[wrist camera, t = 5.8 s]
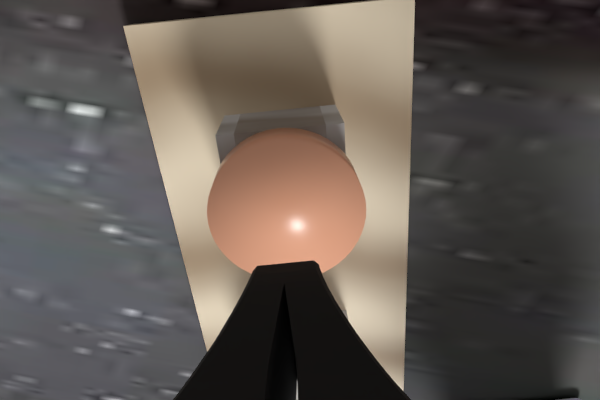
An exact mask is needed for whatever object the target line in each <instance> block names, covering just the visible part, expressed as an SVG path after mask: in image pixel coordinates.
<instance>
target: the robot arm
mask: <svg viewBox="0 0 600 400" xmlns="http://www.w3.org/2000/svg"><path fill="white" fill-rule="evenodd" d="M297 382H298V400H411V399H410V398H409V397H408V396H407V395H406V394H405V393H404V392H403V390H402V389H401V388H400V387H399V386H398V385H397V384H396V383H395V381H394V380H393V379H392V378H391V377H390V375H389V374H388V373H387V372H386V371H385V369H384V368H383V367H382V366H381V365H380V363H379V362H378V361H377V360H376V358H375V357H374V356H373V354H372V353H371V352H370V350H369V349H368V348H367V346H366V345H365V344H364V342H363V341H362V340H361V338H360V337H359V335H358V334H357V333H356V331H355V330H354V328H353V327H352V325H351V324H350V322H349V321H348V319H347V318H346V316H345V315H344V313H343V312H342V310H341V309H340V307H339V305H338V304H337V302H336V300H335V299H334V297H333V295H332V293H331V291H330V289H329V288H328V286H327V284H326V282H325V279H324V277H323V275H322V272H321V270H320V267H319V264H318V263H316V262H315V261H314V260H312V261H301V262H291V263H281V264H271V265H260V266H257V267H256V268H255V269H254V270H253V271H252V274H251V276H250V278H249V280H248V283H247V285H246V287H245V289H244V291H243V293H242V295H241V297H240V298H239V300H238V302H237V304H236V306H235V308H234V309H233V311H232V313H231V315H230V316H229V318H228V320H227V321H226V323H225V325H224V326H223V328H222V330H221V331H220V333H219V335H218V336H217V338H216V340H215V341H214V343H213V344H212V346H211V347H210V349H209V350H208V352H207V353H206V355H205V356H204V358H203V359H202V360H201V362H200V363H199V365H198V366H197V368H196V369H195V371H194V372H193V374H192V375H191V377H190V378H189V379H188V381H187V382H186V383H185V385H184V386H183V387H182V389H181V390H180V391H179V393H178V394H177V395H176V397H175V398H174V399H173V400H296V391H297ZM557 400H581V399H579V398H568V399H557Z"/></svg>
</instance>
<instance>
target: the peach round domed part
mask: <svg viewBox="0 0 600 400" xmlns="http://www.w3.org/2000/svg"><path fill="white" fill-rule="evenodd" d="M207 219H208V225H209V228H210V232H211V234H212V237H213V239H214V241H215V243H216V244H217V246H218V247H219V249H220V250H221V251H222V252H223V254H224V255H225V256H226V257H227V258H228V259H229V260H230V261H231V262H233V263H234V264H235V265H237V266H238V267H240V268H241V269H243V270H245V271H247V272H249V273H251V274H252V271H253V270H254V269H255V268H256V267H257V266H260V265H271V264H281V263H291V262H301V261H312V260H314V261H315V262H316V263H318V264H319V267H320V270H321V272H322V273H323V272H325V271H327V270H329V269H331V268H333V267H334V266H336V265H337V264H339V263H340V262H341V261H342V260H343V259H344V258H345V257H346V256H347V255H348V254H349V253H350V252H351V251H352V250H353V248H354V247H355V245H356V244H357V242H358V240H359V238H360V236H361V234H362V231H363V228H364V224H365V219H366V200H365V196H364V192H363V189H362V186H361V184H360V181H359V179H358V177H357V174H356V172H355V169H354V167H353V165H352V163H351V162H350V160H349V158H348V157H347V156H346V155H345V153H344V152H343V151H342V150H341V149H340V148H339V147H338V146H337V145H335V144H334V143H333V142H331V141H330V140H328V139H327V138H325V137H323V136H321V135H319V134H316V133H314V132H311V131H308V130H303V129H298V128H276V129H270V130H266V131H262V132H259V133H257V134H254V135H252V136H250V137H248V138H246V139H245V140H243V141H242V142H240V143H239V144H238V145H237V146H235V147H234V148H233V149H232V150H231V151H230V152H229V153H228V154H227V156H226V157H225V158H224V160H223V161H222V163H221V165H220V167H219V169H218V171H217V173H216V176H215V179H214V182H213V185H212V187H211V190H210V194H209V197H208V203H207Z"/></svg>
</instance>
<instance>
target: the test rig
mask: <svg viewBox="0 0 600 400" xmlns="http://www.w3.org/2000/svg"><path fill="white" fill-rule="evenodd" d="M414 17H415V0H369V1H359V2H349V3H339V4H329V5H319V6H309V7H299V8H289V9H279V10H270V11H260V12H250V13H240V14H230V15H220V16H210V17H200V18H190V19H180V20H170V21H160V22H150V23H140V24H131V25H127V26H123V27H124V31H125V35H126V39H127V43H128V46H129V50H130V54H131V58H132V62H133V66H134V70H135V74H136V77H137V81H138V85H139V89H140V93H141V97H142V101H143V105H144V108H145V112H146V116H147V120H148V124H149V128H150V132H151V136H152V139H153V143H154V147H155V151H156V155H157V159H158V163H159V167H160V170H161V174H162V178H163V182H164V186H165V190H166V194H167V197H168V201H169V205H170V209H171V213H172V217H173V221H174V225H175V228H176V232H177V236H178V240H179V244H180V248H181V252H182V256H183V259H184V263H185V267H186V271H187V275H188V279H189V283H190V287H191V290H192V294H193V298H194V302H195V306H196V310H197V314H198V318H199V321H200V325H201V329H202V333H203V337H204V341H205V345H206V349H207V352H208V350H209V349H210V347H211V346H212V344H213V343H214V341H215V340H216V338H217V336H218V335H219V333H220V331H221V330H222V328H223V326H224V325H225V323H226V321H227V320H228V318H229V316H230V315H231V313H232V311H233V309H234V308H235V306H236V304H237V302H238V300H239V298H240V297H241V295H242V293H243V291H244V289H245V287H246V285H247V283H248V280H249V278H250V276H251V273H249V272H247V271H245V270H243V269H241V268H240V267H238V266H237V265H235V264H234V263H233V262H231V261H230V260H229V259H228V258H227V257H226V256H225V255H224V254H223V252H222V251H221V250H220V249H219V247H218V246H217V244H216V243H215V241H214V239H213V237H212V234H211V232H210V228H209V225H208V219H207V203H208V197H209V194H210V190H211V187H212V185H213V182H214V179H215V176H216V173H217V171H218V169H219V167H220V165H221V163H222V161H223V160H224V158H225V157H226V156H227V154H228V153H229V152H230V151H231V150H232V149H233V148H234V147H235V146H237V145H238V144H239V143H240V142H242V141H243V140H245V139H246V138H248V137H250V136H252V135H254V134H257V133H259V132H262V131H266V130H270V129H276V128H298V129H303V130H308V131H311V132H314V133H316V134H319V135H321V136H323V137H325V138H327V139H328V140H330V141H331V142H333V143H334V144H335V145H337V146H338V147H339V148H340V149H341V150H342V151H343V152H344V153H345V155H346V156H347V157H348V158H349V160H350V162H351V163H352V165H353V167H354V169H355V172H356V174H357V177H358V179H359V181H360V184H361V186H362V189H363V192H364V196H365V200H366V219H365V224H364V228H363V231H362V234H361V236H360V238H359V240H358V242H357V244H356V245H355V247H354V248H353V250H352V251H351V252H350V253H349V254H348V255H347V256H346V257H345V258H344V259H343V260H342V261H341V262H340V263H339V264H337V265H336V266H334V267H333V268H331V269H329V270H327V271H325V272H323V273H322V275H323V277H324V279H325V282H326V284H327V286H328V288H329V289H330V291H331V293H332V295H333V297H334V299H335V300H336V302H337V304H338V305H339V307H340V309H341V310H342V312H343V313H344V315H345V316H346V318H347V319H348V321H349V322H350V324H351V325H352V327H353V328H354V330H355V331H356V333H357V334H358V335H359V337H360V338H361V340H362V341H363V342H364V344H365V345H366V346H367V348H368V349H369V350H370V352H371V353H372V354H373V356H374V357H375V358H376V360H377V361H378V362H379V363H380V365H381V366H382V367H383V368H384V369H385V371H386V372H387V373H388V374H389V375H390V377H391V378H392V379H393V380H394V381H395V383H396V384H397V385H398V386H399V387H400V388H401V389H402V390H403V389H404V356H405V322H406V288H407V254H408V220H409V186H410V152H411V119H412V85H413V51H414Z"/></svg>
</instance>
